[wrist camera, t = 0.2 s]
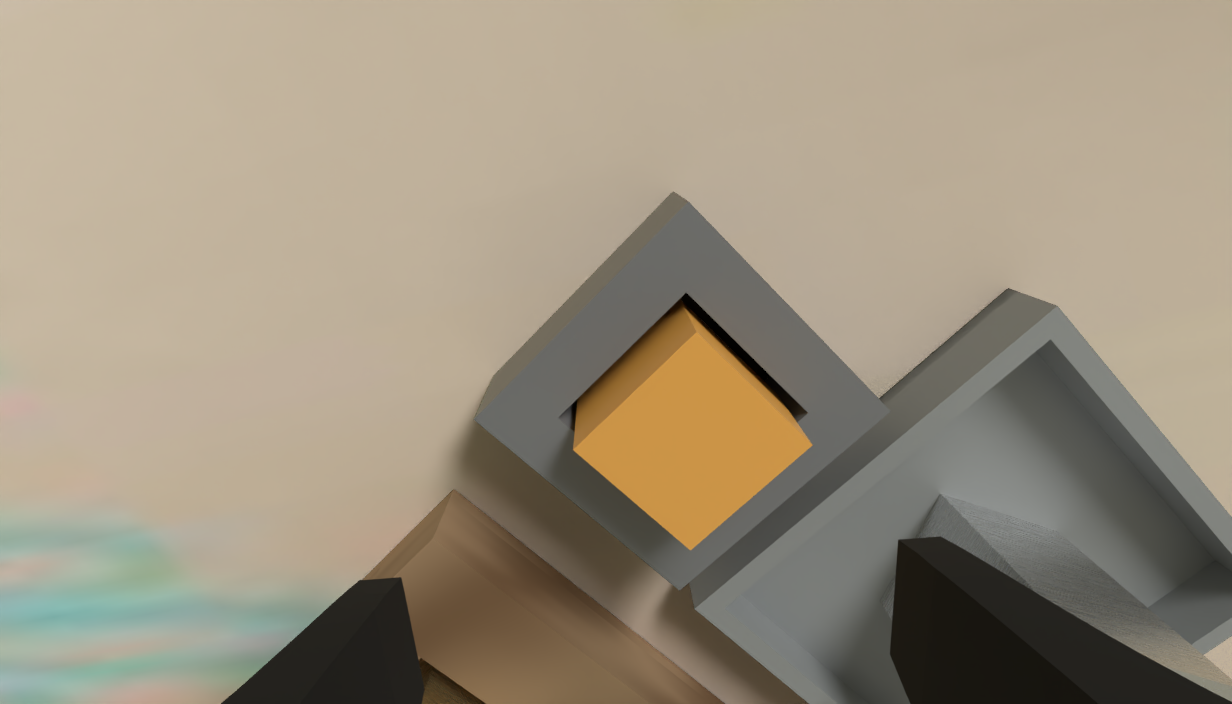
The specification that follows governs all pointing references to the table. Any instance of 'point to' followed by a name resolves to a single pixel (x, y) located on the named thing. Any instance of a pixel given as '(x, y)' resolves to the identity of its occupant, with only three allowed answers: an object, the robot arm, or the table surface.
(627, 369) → the button
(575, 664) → the wooden pocket board
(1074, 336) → the tray
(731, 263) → the button housing
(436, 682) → the block
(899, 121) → the table surface
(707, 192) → the table surface
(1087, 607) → the block
